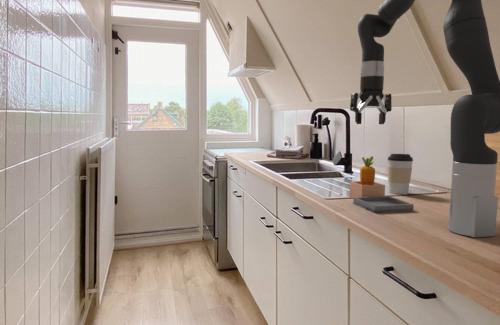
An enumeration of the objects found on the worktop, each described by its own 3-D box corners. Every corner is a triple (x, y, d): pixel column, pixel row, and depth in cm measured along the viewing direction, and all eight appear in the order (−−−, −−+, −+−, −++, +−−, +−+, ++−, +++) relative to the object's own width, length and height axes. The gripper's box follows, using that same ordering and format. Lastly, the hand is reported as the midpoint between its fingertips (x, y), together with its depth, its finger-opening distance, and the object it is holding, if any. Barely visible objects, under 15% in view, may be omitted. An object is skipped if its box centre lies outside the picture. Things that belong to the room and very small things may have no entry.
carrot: (356, 197, 135) (357, 155, 134) (367, 196, 137) (369, 155, 136) (365, 200, 131) (367, 156, 129) (376, 199, 133) (378, 156, 131)
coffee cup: (380, 191, 148) (382, 152, 147) (399, 190, 152) (401, 152, 150) (397, 195, 140) (399, 154, 138) (416, 194, 143) (419, 154, 142)
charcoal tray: (413, 210, 116) (413, 204, 116) (374, 212, 113) (374, 206, 113) (388, 201, 129) (388, 196, 129) (353, 203, 126) (353, 197, 126)
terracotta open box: (384, 200, 131) (385, 184, 130) (361, 201, 129) (362, 185, 128) (371, 195, 139) (371, 180, 139) (349, 196, 137) (349, 181, 137)
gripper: (358, 74, 124) (356, 124, 126) (397, 75, 128) (395, 124, 129) (347, 76, 132) (346, 124, 133) (384, 78, 135) (382, 124, 137)
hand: (370, 124), depth 131 cm, fingers open, 8 cm apart
